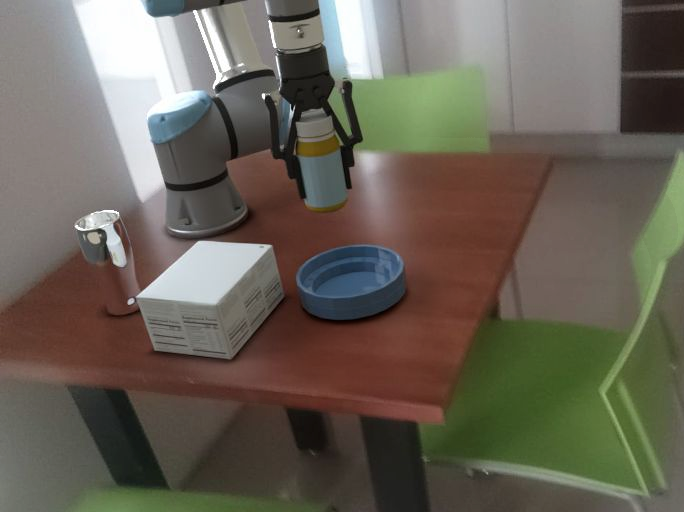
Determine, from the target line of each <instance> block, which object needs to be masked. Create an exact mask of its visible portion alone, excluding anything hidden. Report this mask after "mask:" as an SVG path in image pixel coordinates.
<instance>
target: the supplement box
mask: <svg viewBox="0 0 684 512" xmlns="http://www.w3.org/2000/svg"><path fill="white" fill-rule="evenodd" d="M141 291H142V292H141V293H140V294H139V295H138V296H137V297H136V299H137V302H138V305H139V307H140V309H139V310H140V313H141V316H142V318H143V321H144V325H145V328H146V330H147V332H148V333H147V334H148V336H149V338H150V341H151V344H152V347H153V350H154V352H165V353H173V354H181V355H192V356H199V357H206V358H207V357H208V358H216V359H225V360H232V359H233V358H234V357H235V356H236V355H237V353H238V352H239V351H240V350H241V349H242V348H243V346H244V345H245V344H246V343H247V341H249V340H250V339H251V337H252V336H253V334H254V333H255V332H256V331H257V330H258V328H259V327H260V326H261V325H262V324H263V323H264V322H265V320H266V319H267V318H268V317H269V315H270V314H271V313H272V312H273V310H274V309H275V308H276V307H277V306H278V304H279V303H280V302H281V301H282V300H283V299H284V297H285V293H284V289H283V285H282V280H281V276H280V272H279V268H278V264H277V259H276V254H275V251H274V246H273V245H272V244H264V243H263V244H262V243H246V242H245V243H243V242H227V241H226V242H225V241H212V240H198V241H197V242H196V243H195V244H193V245H192V246H191V247H190V248H189V249H187V251H186V252H184V254H183V255H181V256H180V257H179V258H178V259H177V260H176V261H175V262H174V263H172V264H171V265H170V266H169V267H168V268H167V269H166V270H165V271H164V272H162V273H161V274H159V276H158V277H157V278H156V279H154V280H153V281H152V282H151V283H150V284H149V285H148V286H147V287H145V289H143V290H141Z"/></svg>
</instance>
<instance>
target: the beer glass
mask: <svg viewBox="0 0 684 512" xmlns="http://www.w3.org/2000/svg"><path fill="white" fill-rule="evenodd" d="M73 226H74V229H75V232H76V236H77V240H78V243H79V246H80V250H81V253H82V255H83V257H84V260H85V262H86V264H87V265H88V268H89V269H90V271H91V272H92V274H93V276H94V277H95V279H96V280H97V282H98V284H99V286H100V288H101V290H102V292H103V296H104V300H105V306H106V311H107V313H108V314H109V315H112V316H117V317H119V316H126V315H130V314H133V313H135V312H138V311H139V310H140V307H139V305H138V302H137V299H136V297H137V296H138V295H139V294H140V293H141V292H142V291H143V290H142V289H141V287H140V285H139V282H138V279H137V274H136V265H135V259H134V253H133V248H132V244H131V240H130V237H129V235H128V231H127V229H126V227H125V225H124V223H123V220H122V218H121V215H120V213H119V212H117V211H114V210H102V211H96V212H92V213H90V214H86V215H84V216H83V217H81V218H79V219H78V220H77V221H75V222H74V225H73Z"/></svg>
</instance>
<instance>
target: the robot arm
mask: <svg viewBox="0 0 684 512" xmlns="http://www.w3.org/2000/svg"><path fill="white" fill-rule="evenodd" d="M245 1H248V0H138V2H139V4H140V6H141V9H142V10H143V12H144V13H145V14H146V15H147V16H148V17H149V18H152V19H159V18H165V17H171V18H175V17H177V16H180V15H184V14H188V13H192V12H193V13H194V15H195V19H196V21H197V23H198V27H199V29H200V32H201V35H202V38H203V40H204V43H205V46H206V49H207V51H208V54H209V58H210V60H211V62H212V66H213V68H214V71H215V73H216V79H215V81H214V83H213V86H212V88H213V93H214V96H211V95H210V94H209V93H208V92H207V91H205V90H199V89H197V90H195V89H194V90H192V91H185V92H181V93H180V92H179V93H176V94H175V95H172V96H169V97H167V98H164V99H162V100H161V101H159V102H158V103H156V104H155V105H154V106H153V107H152V108H151V109H149V111H148V113H147V116H146V121H147V122H146V123H147V128H148V134H149V140H150V142H151V143H152V146H153V149H154V154H155V156H156V159H157V162H158V166H159V169H160V173H161V176H162V180H163V183H164V187H165V192H166V193H165V214H164V216H165V218H164V220H165V226H166V229H167V232H168V233H169V234H170V235H172V236H174V237H177V238H181V239H204V238H209V237H215V236H218V235H221V234H223V233H226V232H229V231H231V230H233V229H235V228H237V227H239V226H240V225H241V224H242V223H244V222H245V221H246V220H247V218H248V216H249V210H248V207H247V203H246V201H245V199H244V197H243V196H242V194H241V193H240V191H239V189H238V188H237V186H236V184H235V183H234V182H233V180H232V179H231V177H230V174H229V173H230V172H229V170H228V164H227V162H230V161H233V160H237V159H240V158H244V157H247V156H250V155H254V154H257V153H260V152H264V151H268V150H270V154H271V156H272V158H273V159H274V160H281V161H284V165H285V170H286V174H287V177H288V179H289V180H295V185H296V190H297V194H298V196H299V198H300V200H305V194H304V189H303V183H302V178H301V173H300V167H299V162H298V159H297V157H296V154H294V153H295V146H296V138H297V128H296V122H299V121H300V119H301V114H302V112H306V111H311V110H324V112H325V113H326V115H327V116H330V115H331V117H332V122H333V127H334V129H335V133H336V134H337V137H338V139H340V141H341V143H342V145H340V149H341V156H342V162H343V169H344V175H345V181H346V188H347V191H348V190H353V183H352V179H351V172H350V168H354V167H355V165H356V161H355V154H354V148H355V146H356V145H357V144H362V143H363V142H364V137H363V133H362V129H361V125H360V123H359V118H358V115H357V111H356V107H355V104H354V100H353V87H354V86H353V82H352V81H351V80H350V79H349V78H348V77H346V76H345V77H342V78H334V77H333V76H332V74H331V71H330V65H329V58H328V51H327V46H325V45H324V41H325V33H324V28H323V22H322V15H321V10H320V2H319V0H264V4H265V9H266V13H267V19H268V24H269V25H268V26H269V30H270V35H271V41H272V46H273V47H274V48H275V49H276V51H275V53H274V55H275V60H276V66H277V71H278V77H279V78H278V79H277V76H276V73H275V71H274V69H273V68H272V67H270V66H269V65H267V64H265V63H264V62H263V61H262V59H261V56H260V53H259V49H258V47H257V44H256V42H255V39H254V36H253V34H252V29H251V27H250V24H249V22H248V18H247V16H246V13H245V10H244V8H243V4H242V2H245ZM334 88H336V91H337V92H338V94H340V97H341V100H342V103H343V107H344V111H345V115H346V118H347V122H348V125H349V129H350V132H351V134H350V135H348V134H347V132H346V131H345V128H344V127H343V125H342V122H341V121H340V120H339V118H338V117H337V115H336V113H335V111H334V109H333V108H332V106H331V104H330V102H329V98H330V96H331V95H332V92H333V90H334ZM282 146H283V148H281V147H282Z"/></svg>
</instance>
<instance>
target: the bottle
mask: <svg viewBox="0 0 684 512" xmlns="http://www.w3.org/2000/svg"><path fill="white" fill-rule="evenodd" d="M296 128H297V138H296V143H295V148H294V152H295V155H296V157H297V159H298V162H299V167H300V173H301V178H302V183H303V189H304V194H305V199H304V204H305V207H306V208H307V209H308V210H309V211H311V212H313V213H314V214H315V213H316V214H330V213H334V212H337V211H340V210H341V209H343V208H345V206H346V204H347V203H348V201H349V194H348V189H347V188H346V181H345V175H344V169H343V162H342V156H341V149H340V146H341V145H340V140H339V137H338V136H337V135H336V131H335V129H334V127H333V122H332V117H331V115H330V116H327V115H326V113H325V112H324V110H323V109H311V110H309V111H306V112H302V114H301V119H300V121H299V122H296Z"/></svg>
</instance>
